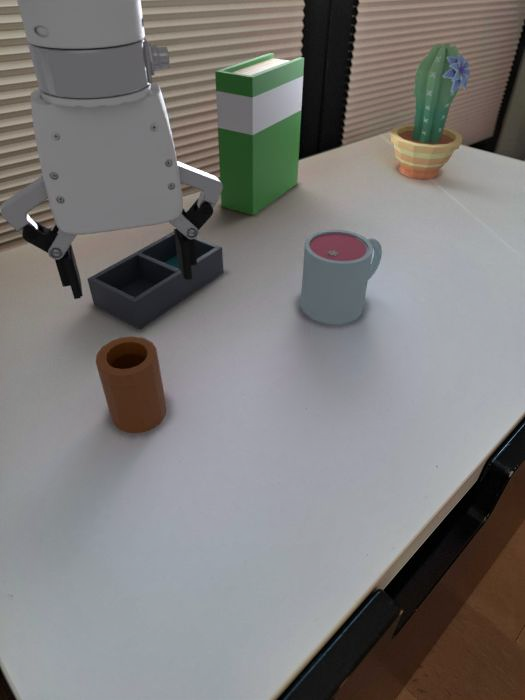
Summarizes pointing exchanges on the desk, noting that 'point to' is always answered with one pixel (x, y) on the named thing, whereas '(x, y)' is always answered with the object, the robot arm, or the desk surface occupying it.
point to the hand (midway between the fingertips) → (132, 280)
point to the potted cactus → (431, 114)
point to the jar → (132, 383)
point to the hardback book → (258, 130)
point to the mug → (337, 275)
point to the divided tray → (153, 281)
